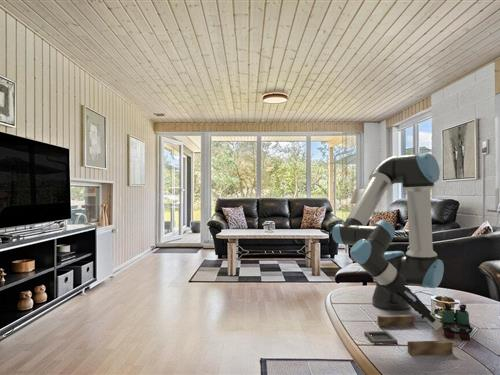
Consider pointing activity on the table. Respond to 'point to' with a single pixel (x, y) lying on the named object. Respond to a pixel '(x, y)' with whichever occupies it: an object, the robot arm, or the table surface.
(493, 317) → the table surface
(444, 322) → the binoculars
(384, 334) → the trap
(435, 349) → the channel
